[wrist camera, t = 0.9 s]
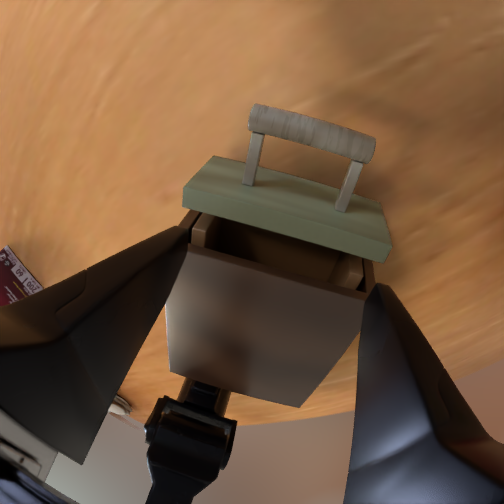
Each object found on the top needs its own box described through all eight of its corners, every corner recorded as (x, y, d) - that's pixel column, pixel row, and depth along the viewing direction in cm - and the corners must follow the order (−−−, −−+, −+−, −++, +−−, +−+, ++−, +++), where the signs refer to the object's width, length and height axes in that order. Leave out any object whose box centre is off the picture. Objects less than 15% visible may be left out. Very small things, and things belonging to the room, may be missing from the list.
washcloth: (109, 405, 60) (104, 415, 57) (52, 358, 52) (45, 368, 50) (137, 407, 54) (131, 419, 52) (71, 355, 47) (63, 368, 44)
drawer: (223, 88, 15) (191, 101, 12) (405, 140, 15) (430, 169, 11) (197, 300, 26) (178, 341, 23) (314, 333, 26) (309, 378, 22)
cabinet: (203, 191, 21) (163, 244, 16) (368, 238, 20) (378, 304, 15) (192, 319, 30) (169, 371, 25) (307, 351, 29) (299, 408, 24)
